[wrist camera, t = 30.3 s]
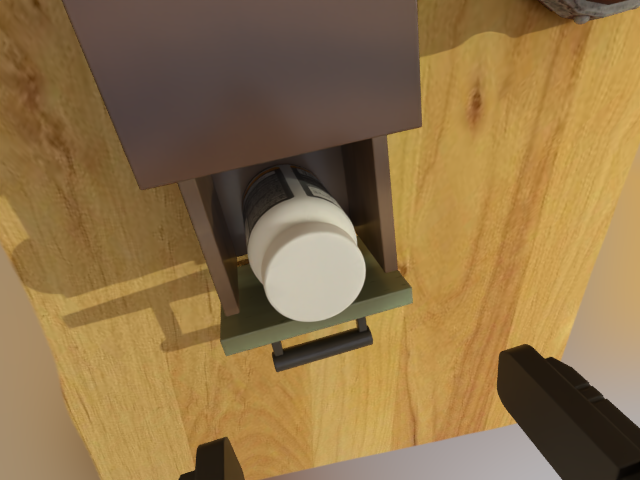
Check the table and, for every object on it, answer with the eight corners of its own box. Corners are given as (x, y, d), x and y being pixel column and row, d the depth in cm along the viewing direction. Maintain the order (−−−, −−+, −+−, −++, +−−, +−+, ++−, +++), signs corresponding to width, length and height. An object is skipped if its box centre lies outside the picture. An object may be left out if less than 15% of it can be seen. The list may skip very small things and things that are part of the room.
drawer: (376, 296, 32) (416, 361, 25) (242, 333, 31) (247, 413, 24) (343, 20, 23) (394, 6, 16) (147, 56, 21) (110, 58, 14)
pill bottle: (253, 250, 27) (267, 347, 18) (231, 172, 24) (235, 240, 15) (331, 231, 27) (381, 314, 19) (318, 152, 25) (370, 207, 16)
